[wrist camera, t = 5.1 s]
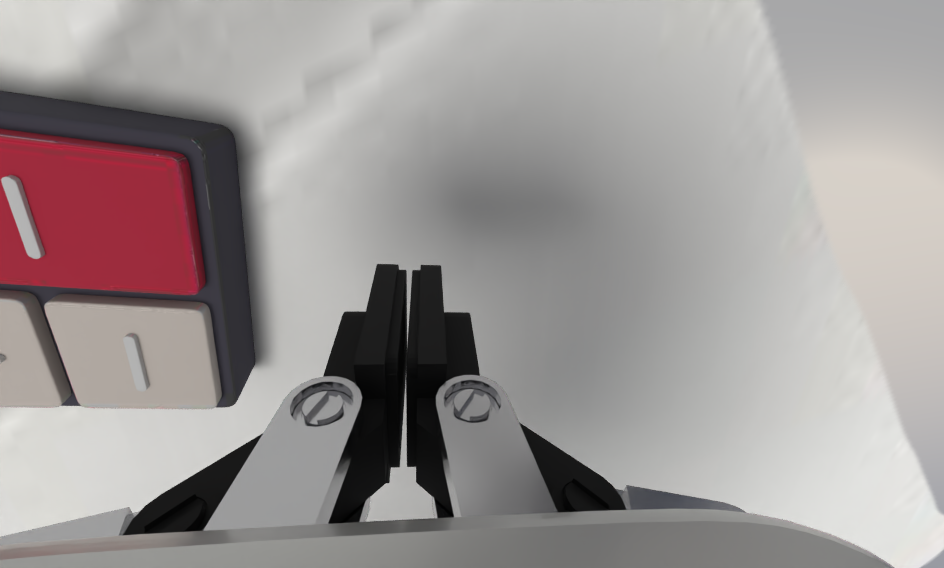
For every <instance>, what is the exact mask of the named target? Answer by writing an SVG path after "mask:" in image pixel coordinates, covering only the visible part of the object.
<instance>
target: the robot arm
mask: <svg viewBox="0 0 944 568" xmlns="http://www.w3.org/2000/svg"><path fill="white" fill-rule="evenodd" d="M405 380H406V395H407V467H416V482H417V483H418V484H419V485H420V486H421V487H422V488H424V489H425V490H426V491H427V492H428V493H429V494H430V495H431V496H432V509H433V515H434V518H433V519H413V520H393V521H374V522H366V519H367V516H368V512H369V508H370V496H372V495H373V494H374V493H375V492H376V491H377V490H378V489H380V488H381V487H382V486H383V485H384V484H385V483H389V480H390V469H391V467H400V455H401V440H402V425H403V410H404V395H405ZM0 568H894V567H893V566H892V565H890V564H889V563H887V562H886V561H884V560H882V559H881V558H879V557H877V556H876V555H874V554H873V553H871V552H869V551H867V550H865V549H863V548H861V547H859V546H857V545H855V544H852V543H850V542H848V541H846V540H843V539H841V538H838V537H836V536H833V535H831V534H828V533H825V532H822V531H819V530H816V529H813V528H810V527H806V526H803V525H800V524H797V523H794V522H791V521H787V520H783V519H778V518H772V517H767V516H762V515H757V514H752V513H746V512H745V511H743V510H742V509H740V508H738V507H736V506H733V505H730V504H727V503H724V502H718V501H713V500H707V499H701V498H696V497H690V496H685V495H679V494H673V493H668V492H662V491H657V490H651V489H645V488H640V487H634V486H629V485H626V487H625V490H624V491H623V490H618V489H615V488H614V487H613V486H612V485H611V484H610V483H609V482H608V481H607V480H605V479H604V478H603V477H602V476H600V475H599V474H597V473H596V472H594V471H593V470H591V469H589V468H588V467H586V466H585V465H583V464H582V463H580V462H579V461H577V460H576V459H574V458H573V457H571V456H570V455H568V454H567V453H565V452H563V451H562V450H560V449H559V448H557V447H556V446H554V445H553V444H551V443H550V442H548V441H547V440H545V439H544V438H542V437H541V436H539V435H537V434H536V433H534V432H533V431H531V430H530V429H528V428H527V427H525V426H524V425H522V424H521V423H519V422H518V419H517V417H516V415H515V412H514V410H513V408H512V405H511V403H510V401H509V398H508V396H507V394H506V393H505V391H504V390H503V388H502V387H501V386H499V385H498V384H497V383H496V382H494V381H492V380H490V379H488V378H486V377H482V376H480V373H479V367H478V361H477V354H476V348H475V342H474V336H473V330H472V323H471V317H470V313H456V312H444V306H443V290H442V274H441V266H440V265H421V270H413V272H412V287H411V302H410V316H409V331H408V346H407V284H406V270H399V266H398V265H394V264H377V267H376V271H375V275H374V280H373V284H372V288H371V292H370V297H369V301H368V305H367V309H366V312H344V314H343V316H342V319H341V322H340V325H339V329H338V332H337V335H336V338H335V341H334V344H333V347H332V350H331V354H330V357H329V360H328V363H327V366H326V369H325V372H324V376H323V377H320V378H315V379H311V380H309V381H307V382H304V383H302V384H300V385H299V386H298V387H296V388H295V389H293V390H292V391H291V392H290V393H289V394H288V395H287V397H286V398H285V399H284V401H283V402H282V404H281V405H280V407H279V409H278V410H277V412H276V414H275V415H274V417H273V418H272V420H271V422H270V423H269V425H268V426H267V428H266V430H265V431H264V433H263V434H261V435H260V436H258V437H256V438H255V439H253V440H251V441H250V442H248V443H246V444H245V445H243V446H241V447H240V448H238V449H236V450H235V451H233V452H231V453H230V454H228V455H226V456H225V457H223V458H221V459H220V460H218V461H216V462H215V463H213V464H211V465H210V466H208V467H206V468H205V469H203V470H201V471H200V472H198V473H196V474H195V475H193V476H191V477H190V478H188V479H186V480H185V481H183V482H181V483H180V484H178V485H176V486H175V487H173V488H171V489H170V490H168V491H166V492H165V493H163V494H161V495H160V496H158V497H157V498H156V499H154V500H153V501H152V502H150V503H149V504H147V505H146V506H145V507H144V508H143V509H142V510H141V511H140V512H135V513H132V511H131V510H130V508H129V507H127V508H123V509H119V510H114V511H110V512H106V513H101V514H97V515H93V516H88V517H84V518H80V519H75V520H71V521H67V522H63V523H58V524H54V525H50V526H45V527H41V528H37V529H32V530H28V531H24V532H19V533H15V534H11V535H6V536H2V537H0Z"/></svg>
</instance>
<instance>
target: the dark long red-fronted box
mask: <svg viewBox="0 0 944 568" xmlns="http://www.w3.org/2000/svg"><path fill="white" fill-rule="evenodd" d="M254 364H255V353H254V342H253V331H252V320H251V309H250V298H249V286H248V275H247V264H246V253H245V242H244V231H243V220H242V209H241V198H240V187H239V176H238V165H237V154H236V144H235V138H234V136H233V134H232V132H231V131H230V130H229V129H228V128H226V127H225V126H223V125H219V124H214V123H208V122H202V121H195V120H189V119H182V118H176V117H169V116H163V115H157V114H150V113H144V112H137V111H131V110H124V109H118V108H111V107H105V106H98V105H92V104H85V103H78V102H72V101H65V100H58V99H52V98H45V97H38V96H31V95H24V94H17V93H11V92H4V91H0V407H35V408H52V407H59V406H83V407H87V408H136V409H213V408H215V407H230V406H232V405H234V404H235V403H236V402H237V400H238V398H239V396H240V394H241V392H242V390H243V388H244V386H245V383H246V381H247V379H248V377H249V375H250V373H251V371H252V369H253V367H254Z"/></svg>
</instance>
